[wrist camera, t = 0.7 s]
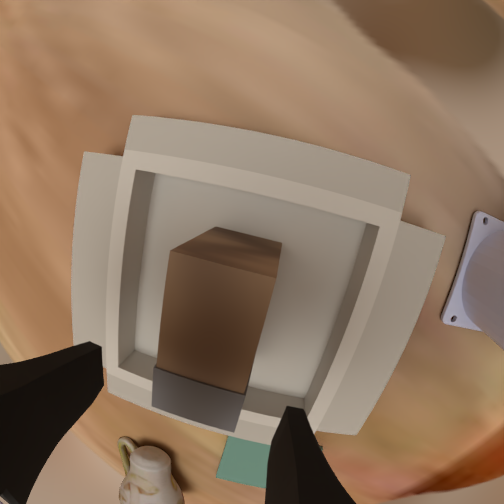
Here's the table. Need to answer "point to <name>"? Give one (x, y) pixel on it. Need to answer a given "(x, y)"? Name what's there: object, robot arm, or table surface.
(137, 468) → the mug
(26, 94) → the table surface
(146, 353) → the off-white shallow square tray
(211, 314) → the box
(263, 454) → the mat
